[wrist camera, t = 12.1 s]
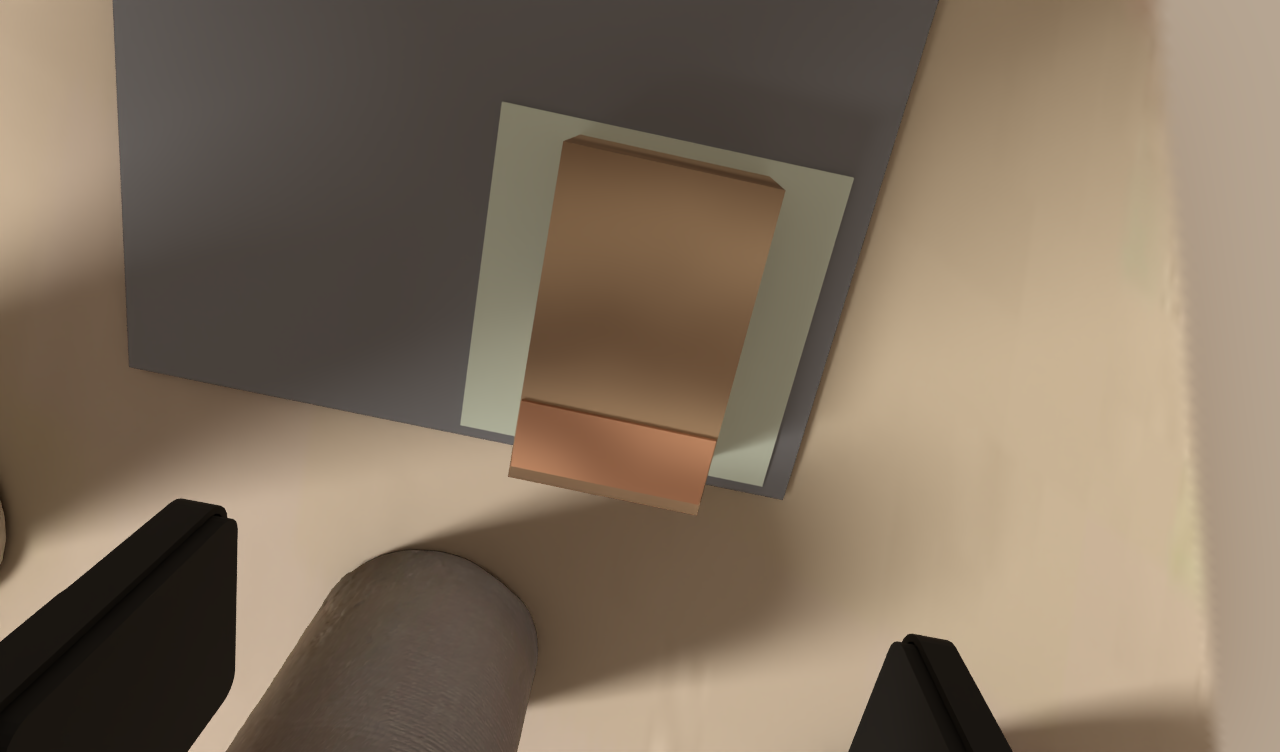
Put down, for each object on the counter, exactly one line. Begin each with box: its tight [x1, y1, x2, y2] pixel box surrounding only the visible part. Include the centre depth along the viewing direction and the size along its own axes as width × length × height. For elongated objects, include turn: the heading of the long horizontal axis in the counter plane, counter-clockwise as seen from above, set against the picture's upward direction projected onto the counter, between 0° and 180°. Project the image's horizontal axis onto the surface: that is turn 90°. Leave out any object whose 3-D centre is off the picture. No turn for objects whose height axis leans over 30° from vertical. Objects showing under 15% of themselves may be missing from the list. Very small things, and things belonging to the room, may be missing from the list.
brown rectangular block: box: [508, 134, 786, 516], centre depth 25 cm, size 11×6×4 cm, turn 168°
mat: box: [113, 0, 939, 500], centre depth 26 cm, size 26×20×1 cm
